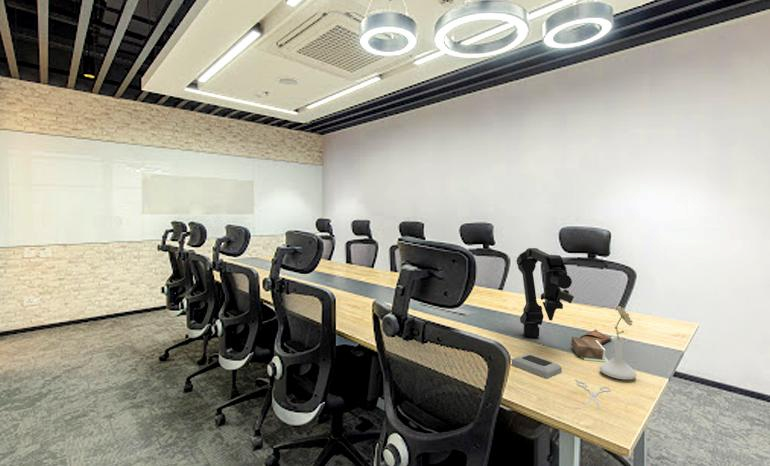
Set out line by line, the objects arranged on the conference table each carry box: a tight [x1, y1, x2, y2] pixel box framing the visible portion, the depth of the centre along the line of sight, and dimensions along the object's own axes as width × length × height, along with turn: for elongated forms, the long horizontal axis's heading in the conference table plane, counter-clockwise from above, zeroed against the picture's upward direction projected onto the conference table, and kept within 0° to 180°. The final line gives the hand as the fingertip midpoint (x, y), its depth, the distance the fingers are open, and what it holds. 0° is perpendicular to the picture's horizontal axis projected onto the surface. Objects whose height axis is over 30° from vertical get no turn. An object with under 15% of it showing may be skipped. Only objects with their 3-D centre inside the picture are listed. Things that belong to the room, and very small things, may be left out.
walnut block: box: [570, 336, 607, 360], centre depth 155 cm, size 4×12×10 cm
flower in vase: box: [598, 305, 637, 380], centre depth 134 cm, size 13×11×25 cm
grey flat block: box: [510, 353, 563, 380], centre depth 139 cm, size 10×4×15 cm
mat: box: [579, 356, 609, 363], centre depth 155 cm, size 10×16×1 cm, turn 164°
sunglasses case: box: [579, 329, 612, 346], centre depth 169 cm, size 18×7×7 cm
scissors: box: [574, 378, 612, 410], centre depth 119 cm, size 11×1×20 cm
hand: (550, 320), depth 158 cm, fingers closed
